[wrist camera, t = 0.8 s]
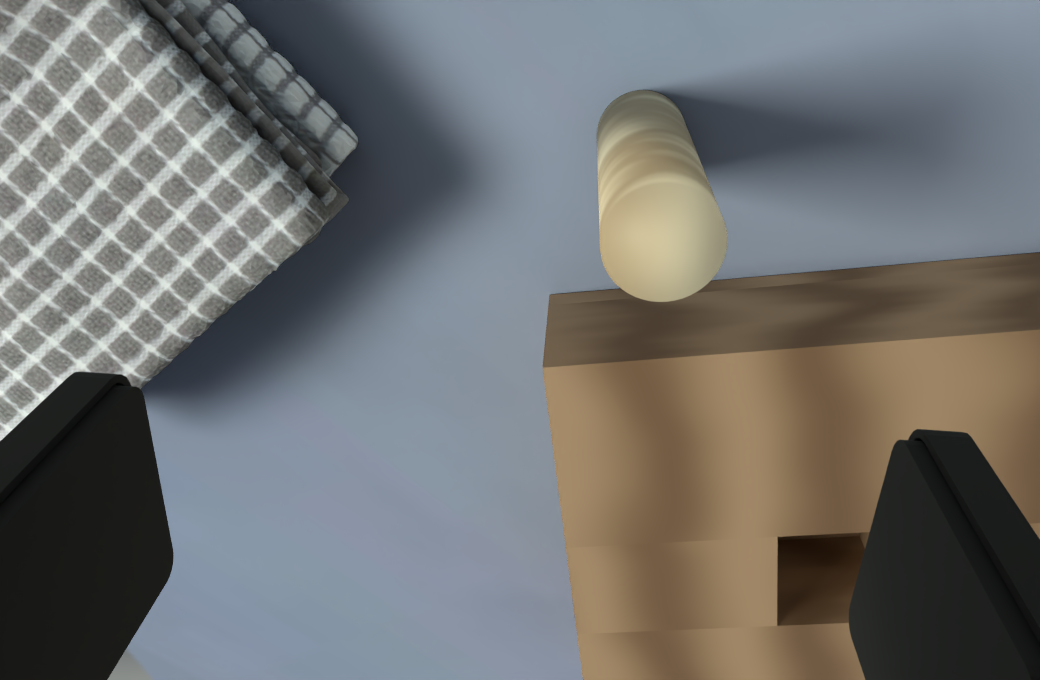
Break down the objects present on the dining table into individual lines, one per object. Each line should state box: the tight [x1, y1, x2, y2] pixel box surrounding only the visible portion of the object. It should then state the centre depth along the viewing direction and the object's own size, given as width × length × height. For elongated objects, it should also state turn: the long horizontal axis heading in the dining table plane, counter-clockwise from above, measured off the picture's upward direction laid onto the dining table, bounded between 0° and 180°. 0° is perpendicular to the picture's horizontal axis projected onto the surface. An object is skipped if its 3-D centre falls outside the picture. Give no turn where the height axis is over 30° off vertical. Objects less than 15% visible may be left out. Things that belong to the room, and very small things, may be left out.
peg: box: [597, 90, 727, 302], centre depth 28 cm, size 3×3×11 cm
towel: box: [0, 0, 358, 441], centre depth 31 cm, size 15×18×8 cm
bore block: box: [543, 252, 1040, 680], centre depth 36 cm, size 20×20×6 cm
